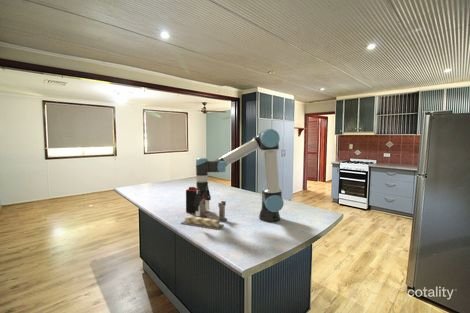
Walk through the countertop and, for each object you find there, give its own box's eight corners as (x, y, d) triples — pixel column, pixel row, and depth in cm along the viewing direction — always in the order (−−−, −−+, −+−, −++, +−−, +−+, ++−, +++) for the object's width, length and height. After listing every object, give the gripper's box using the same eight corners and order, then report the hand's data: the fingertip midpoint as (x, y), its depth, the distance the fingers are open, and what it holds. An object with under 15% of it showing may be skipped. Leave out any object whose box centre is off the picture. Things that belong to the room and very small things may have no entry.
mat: (223, 225, 152) (223, 224, 152) (218, 229, 145) (218, 228, 145) (187, 220, 162) (187, 219, 162) (180, 223, 154) (180, 223, 154)
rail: (219, 225, 151) (219, 220, 151) (217, 227, 148) (217, 221, 147) (187, 220, 159) (187, 215, 159) (185, 222, 156) (185, 217, 156)
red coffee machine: (207, 210, 185) (208, 186, 183) (202, 214, 175) (202, 188, 174) (190, 208, 189) (190, 184, 188) (184, 212, 179) (184, 187, 178)
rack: (226, 219, 164) (226, 201, 164) (223, 222, 159) (223, 203, 158) (200, 215, 172) (201, 198, 171) (197, 218, 166) (197, 200, 165)
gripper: (205, 178, 164) (206, 206, 166) (187, 184, 141) (188, 218, 142) (215, 178, 162) (215, 207, 163) (197, 185, 138) (198, 219, 140)
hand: (202, 212), depth 153 cm, fingers open, 13 cm apart
